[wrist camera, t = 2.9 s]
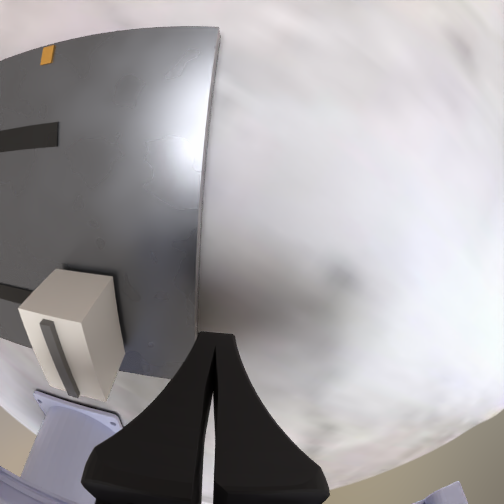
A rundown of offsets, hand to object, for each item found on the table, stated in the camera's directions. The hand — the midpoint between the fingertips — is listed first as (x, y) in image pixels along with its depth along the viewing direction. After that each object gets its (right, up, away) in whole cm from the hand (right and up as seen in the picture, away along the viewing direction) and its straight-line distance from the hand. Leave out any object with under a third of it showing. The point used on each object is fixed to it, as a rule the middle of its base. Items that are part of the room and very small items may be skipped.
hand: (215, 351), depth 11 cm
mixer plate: (-13, +6, 0) cm, 14 cm away
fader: (-6, +1, +1) cm, 6 cm away
